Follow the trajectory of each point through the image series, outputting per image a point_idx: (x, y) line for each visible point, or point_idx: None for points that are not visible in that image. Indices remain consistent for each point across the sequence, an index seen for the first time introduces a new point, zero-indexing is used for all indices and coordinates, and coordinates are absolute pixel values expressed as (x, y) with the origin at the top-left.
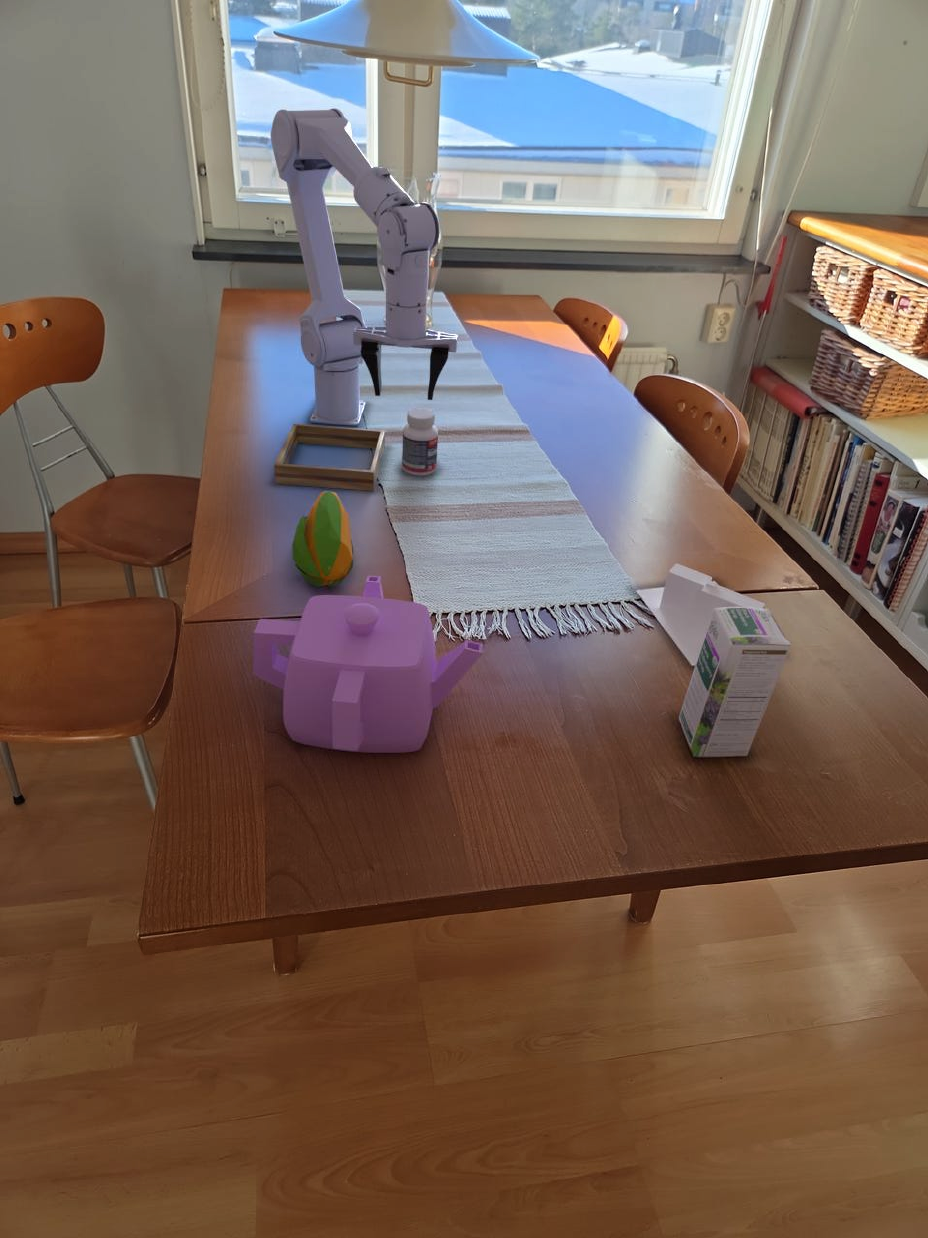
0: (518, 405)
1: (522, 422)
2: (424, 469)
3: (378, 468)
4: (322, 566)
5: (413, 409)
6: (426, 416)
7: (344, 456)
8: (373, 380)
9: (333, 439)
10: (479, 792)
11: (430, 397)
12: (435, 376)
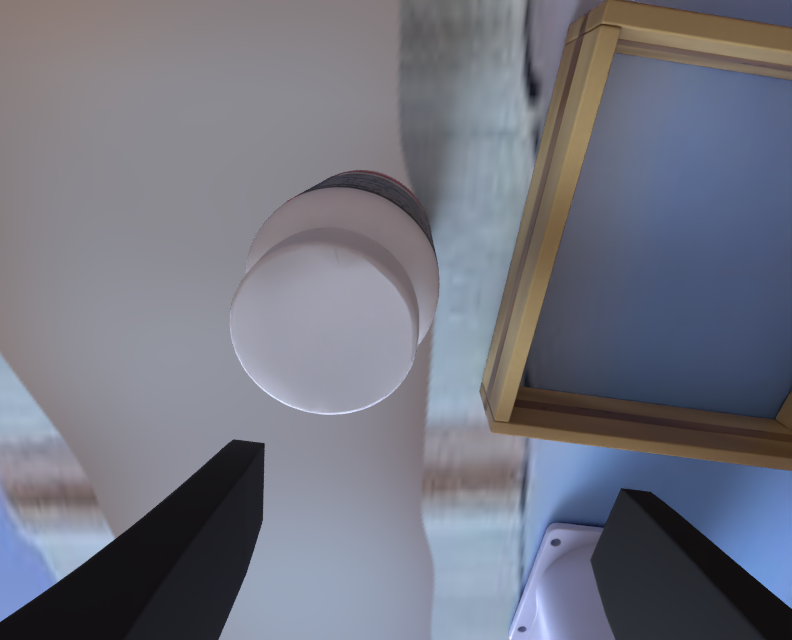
0: None
1: (39, 548)
2: (340, 173)
3: (529, 205)
4: None
5: (375, 391)
6: (284, 286)
7: (631, 330)
8: (772, 598)
9: (667, 416)
10: None
11: (234, 448)
12: (52, 616)
